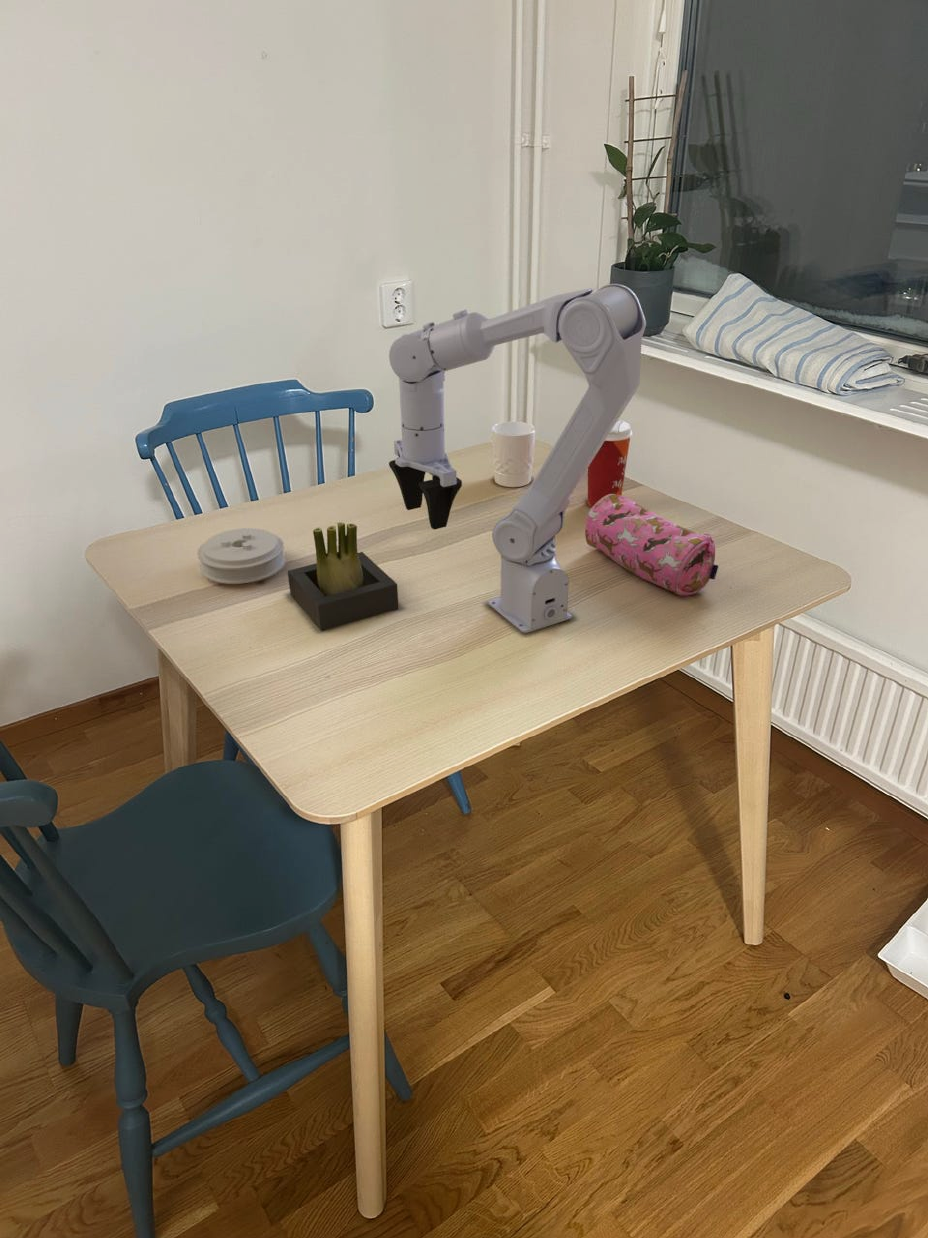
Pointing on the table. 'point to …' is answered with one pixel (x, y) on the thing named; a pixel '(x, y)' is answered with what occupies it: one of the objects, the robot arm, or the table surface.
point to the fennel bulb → (338, 560)
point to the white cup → (513, 453)
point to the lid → (241, 556)
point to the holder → (344, 596)
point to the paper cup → (609, 464)
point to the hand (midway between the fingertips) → (425, 517)
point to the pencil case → (651, 545)
